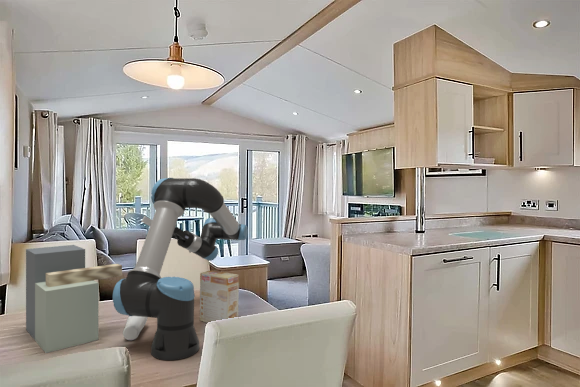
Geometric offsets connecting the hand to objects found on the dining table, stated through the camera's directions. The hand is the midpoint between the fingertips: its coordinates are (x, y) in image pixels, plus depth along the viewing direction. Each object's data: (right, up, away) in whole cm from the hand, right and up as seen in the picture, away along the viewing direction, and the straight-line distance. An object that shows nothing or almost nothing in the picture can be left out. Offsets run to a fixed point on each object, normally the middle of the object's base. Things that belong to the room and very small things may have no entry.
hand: (150, 219), depth 162 cm
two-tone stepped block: (-24, -40, -23) cm, 52 cm away
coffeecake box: (+30, -40, -8) cm, 51 cm away
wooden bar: (-15, -20, -24) cm, 34 cm away
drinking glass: (+3, -38, -28) cm, 47 cm away
